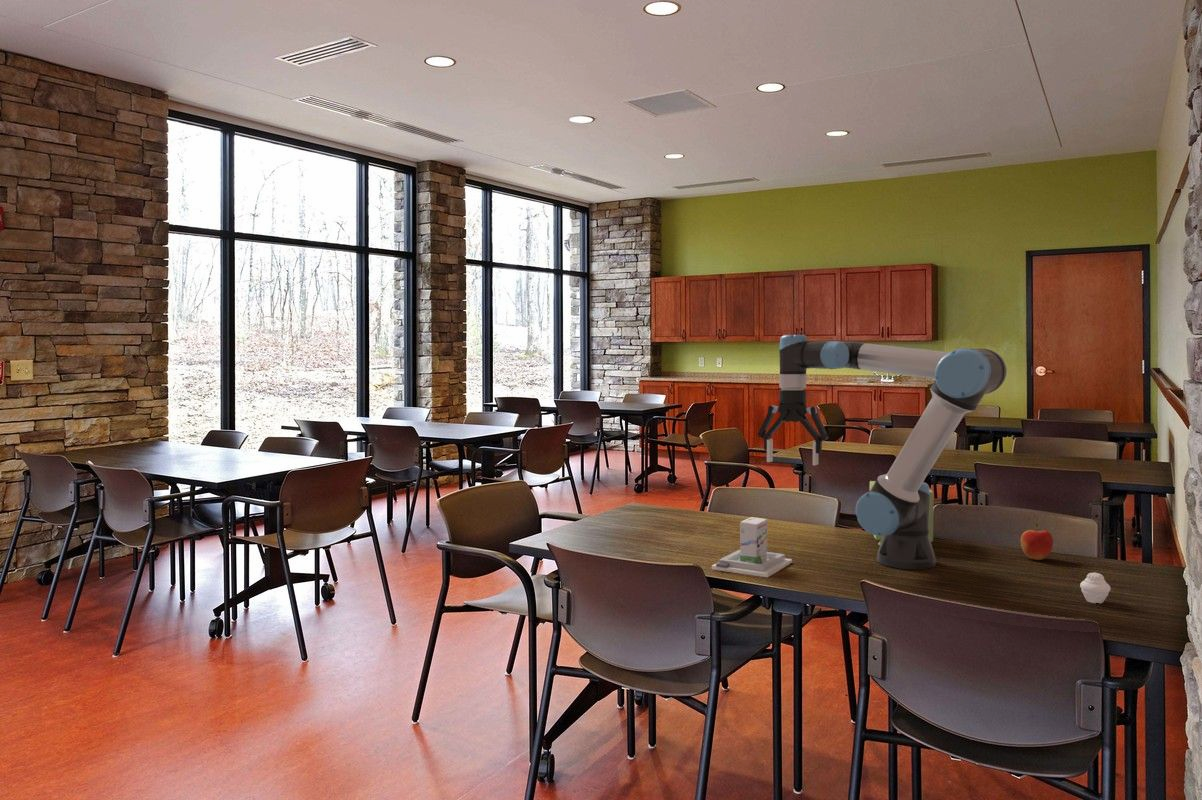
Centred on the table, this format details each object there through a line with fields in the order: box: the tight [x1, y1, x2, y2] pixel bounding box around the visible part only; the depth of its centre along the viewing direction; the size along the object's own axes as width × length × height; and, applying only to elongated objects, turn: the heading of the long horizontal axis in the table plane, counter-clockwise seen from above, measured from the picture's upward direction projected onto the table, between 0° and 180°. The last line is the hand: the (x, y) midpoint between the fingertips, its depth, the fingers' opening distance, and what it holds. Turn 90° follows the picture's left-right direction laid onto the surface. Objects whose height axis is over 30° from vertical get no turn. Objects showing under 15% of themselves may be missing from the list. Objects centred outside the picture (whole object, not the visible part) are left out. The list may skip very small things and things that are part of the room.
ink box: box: [739, 516, 768, 564], centre depth 233 cm, size 8×5×12 cm, turn 148°
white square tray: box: [711, 549, 793, 578], centre depth 234 cm, size 16×18×2 cm
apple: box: [1020, 523, 1054, 561], centre depth 239 cm, size 8×8×10 cm
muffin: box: [1079, 572, 1112, 604], centre depth 199 cm, size 6×6×7 cm
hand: (792, 463), depth 244 cm, fingers open, 13 cm apart
